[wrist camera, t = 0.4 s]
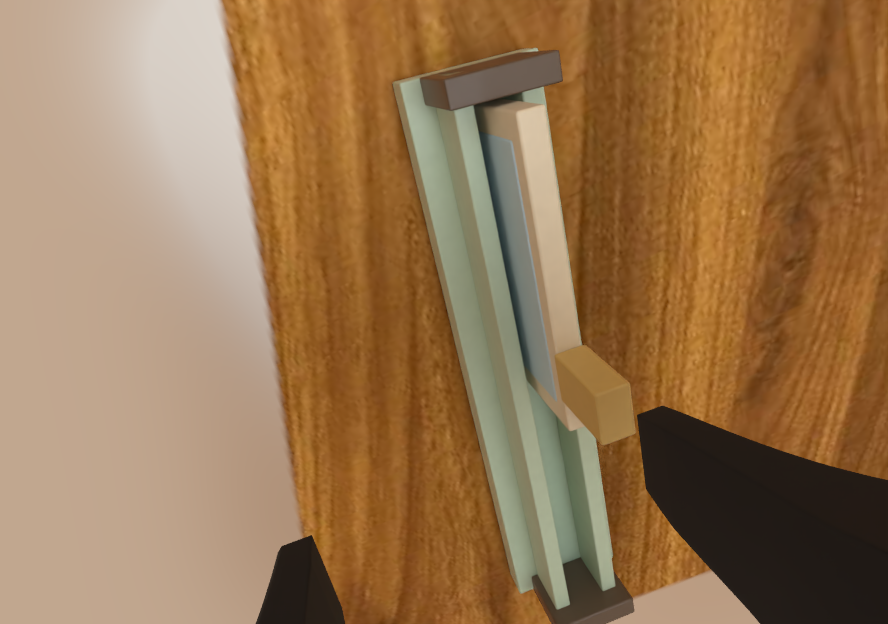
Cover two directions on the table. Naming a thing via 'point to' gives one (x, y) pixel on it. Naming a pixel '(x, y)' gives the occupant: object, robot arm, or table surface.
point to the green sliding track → (508, 346)
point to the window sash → (545, 274)
